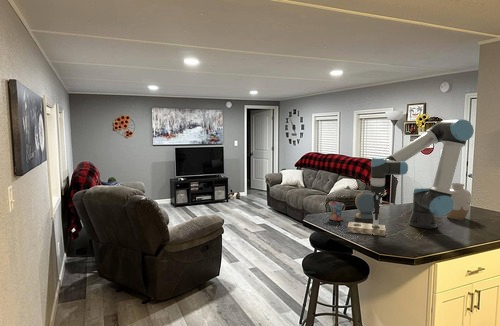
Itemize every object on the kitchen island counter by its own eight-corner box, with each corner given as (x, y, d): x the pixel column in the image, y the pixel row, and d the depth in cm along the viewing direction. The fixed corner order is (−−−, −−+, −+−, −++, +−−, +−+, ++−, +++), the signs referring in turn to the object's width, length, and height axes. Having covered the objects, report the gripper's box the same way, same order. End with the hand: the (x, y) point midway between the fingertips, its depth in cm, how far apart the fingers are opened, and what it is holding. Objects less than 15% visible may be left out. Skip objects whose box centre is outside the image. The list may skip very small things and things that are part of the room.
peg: (378, 231, 192) (378, 214, 191) (378, 233, 189) (378, 215, 188) (372, 231, 193) (373, 213, 192) (372, 232, 191) (373, 215, 190)
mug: (335, 222, 211) (335, 205, 210) (325, 218, 219) (326, 202, 218) (349, 220, 217) (350, 203, 215) (339, 216, 225) (340, 201, 224)
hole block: (384, 230, 195) (384, 225, 194) (385, 235, 185) (385, 230, 184) (348, 226, 202) (349, 221, 201) (347, 231, 191) (347, 226, 191)
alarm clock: (375, 215, 229) (376, 189, 227) (378, 219, 219) (379, 192, 217) (353, 214, 231) (354, 189, 229) (355, 218, 222) (356, 191, 220)
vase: (465, 222, 212) (467, 186, 209) (438, 217, 223) (440, 183, 221) (473, 218, 222) (475, 184, 220) (447, 213, 234) (449, 181, 232)
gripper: (370, 181, 202) (369, 216, 204) (370, 188, 178) (368, 227, 180) (384, 182, 199) (382, 217, 201) (385, 189, 176) (383, 228, 178)
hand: (375, 222), depth 191 cm, fingers open, 13 cm apart
